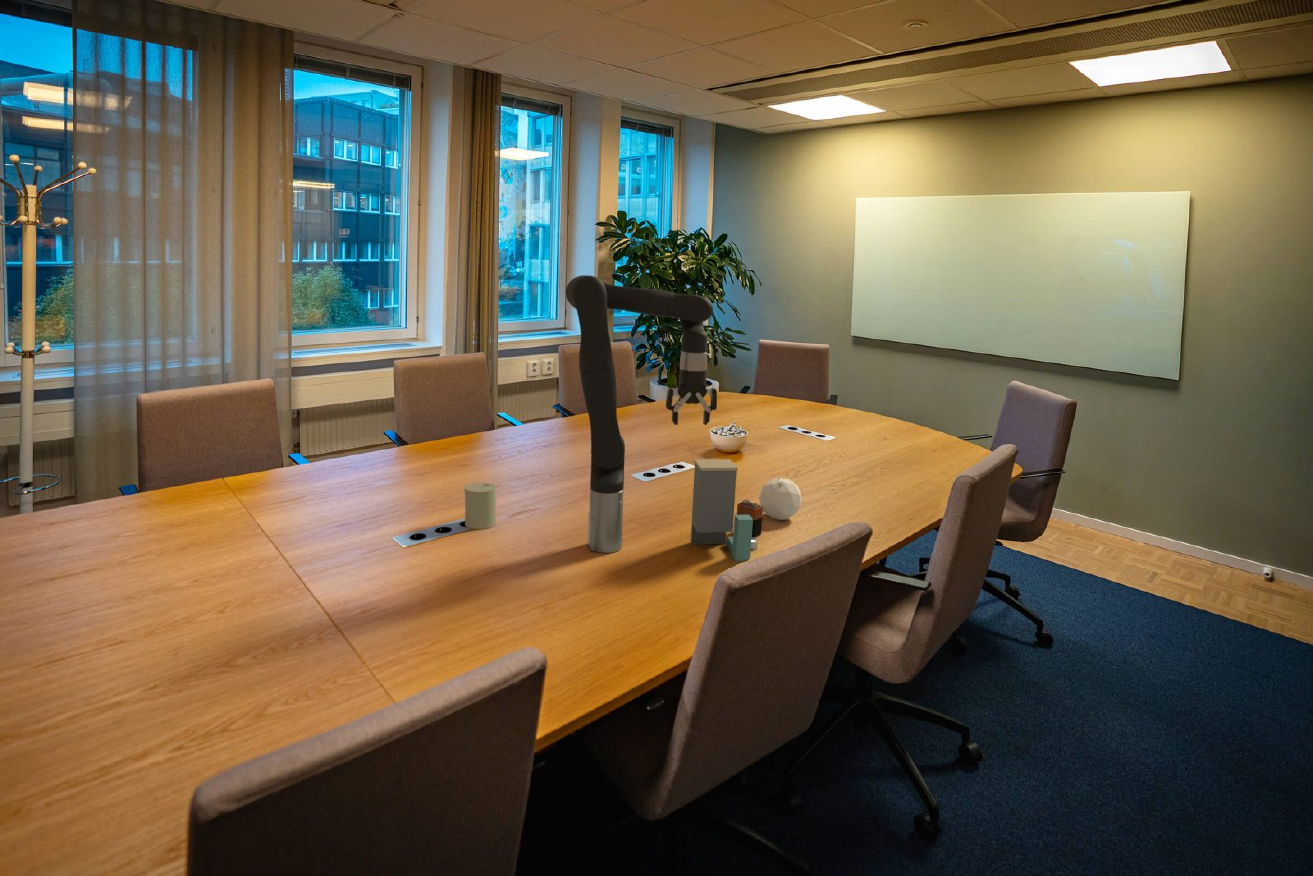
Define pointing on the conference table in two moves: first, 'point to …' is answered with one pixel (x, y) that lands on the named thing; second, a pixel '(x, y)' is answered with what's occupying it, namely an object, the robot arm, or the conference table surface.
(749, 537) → the green piece
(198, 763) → the conference table surface
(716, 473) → the cabinet
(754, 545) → the puck
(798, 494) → the geodesic sphere
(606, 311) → the robot arm
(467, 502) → the can
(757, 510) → the battery
